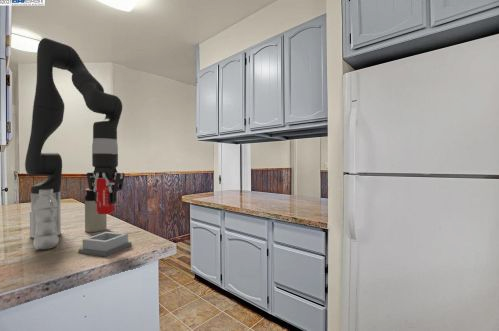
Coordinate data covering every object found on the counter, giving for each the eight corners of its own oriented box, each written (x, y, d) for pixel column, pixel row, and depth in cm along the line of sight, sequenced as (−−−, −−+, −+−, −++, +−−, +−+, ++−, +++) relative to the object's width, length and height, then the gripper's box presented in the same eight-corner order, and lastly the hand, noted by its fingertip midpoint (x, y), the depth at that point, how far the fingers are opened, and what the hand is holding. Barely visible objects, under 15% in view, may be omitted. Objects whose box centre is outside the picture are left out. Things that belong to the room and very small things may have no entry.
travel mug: (102, 232, 107) (102, 189, 106) (81, 233, 105) (81, 189, 105) (109, 227, 114) (108, 187, 114) (89, 228, 113) (89, 187, 113)
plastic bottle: (37, 247, 88) (37, 189, 87) (61, 244, 90) (60, 188, 90) (30, 253, 82) (29, 191, 81) (55, 250, 84) (55, 190, 84)
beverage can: (106, 214, 83) (106, 178, 82) (92, 214, 84) (92, 177, 83) (117, 211, 88) (117, 177, 88) (104, 211, 89) (104, 177, 89)
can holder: (78, 252, 82) (78, 239, 82) (106, 242, 93) (106, 231, 92) (105, 256, 79) (105, 242, 79) (131, 245, 89) (131, 233, 89)
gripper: (78, 152, 84) (78, 204, 84) (113, 152, 80) (113, 206, 80) (97, 153, 91) (98, 200, 91) (131, 153, 87) (131, 202, 87)
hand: (105, 203), depth 86 cm, fingers closed on beverage can, 5 cm apart
